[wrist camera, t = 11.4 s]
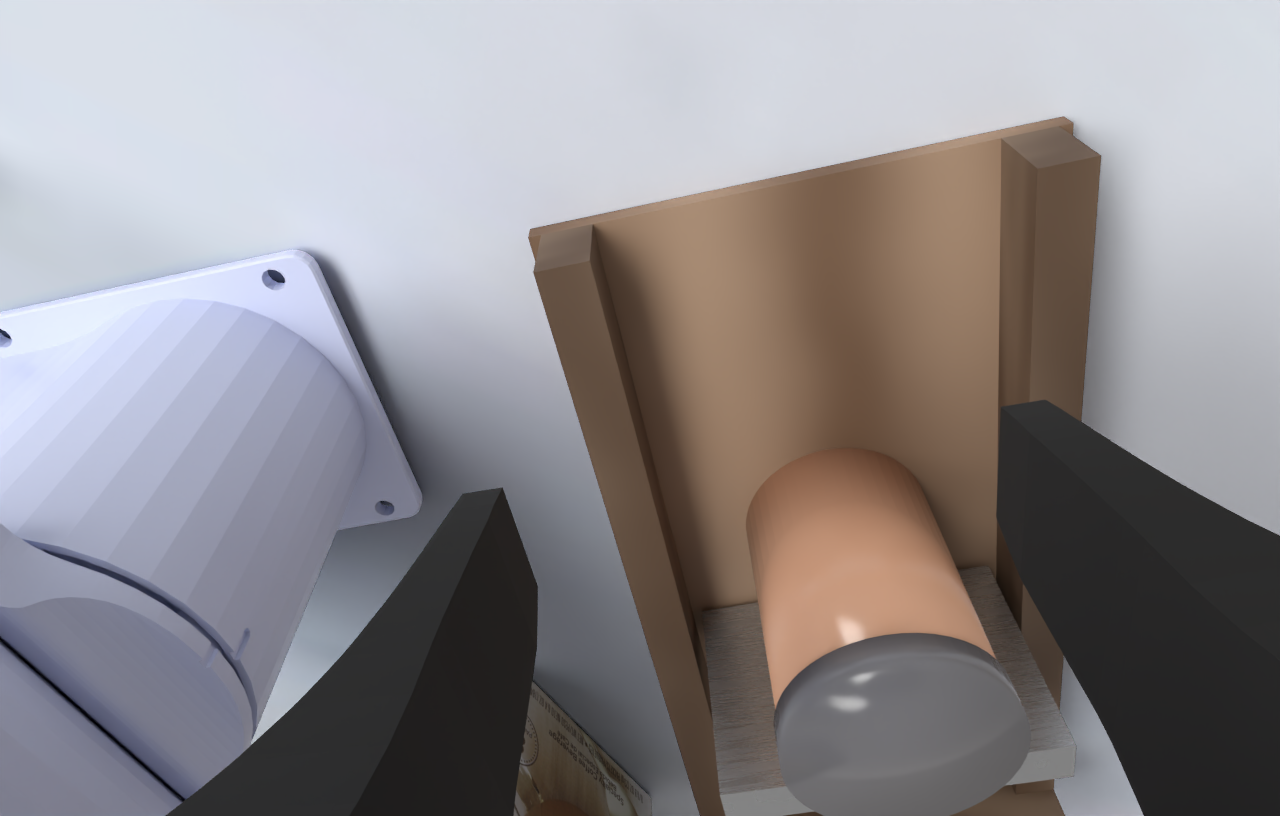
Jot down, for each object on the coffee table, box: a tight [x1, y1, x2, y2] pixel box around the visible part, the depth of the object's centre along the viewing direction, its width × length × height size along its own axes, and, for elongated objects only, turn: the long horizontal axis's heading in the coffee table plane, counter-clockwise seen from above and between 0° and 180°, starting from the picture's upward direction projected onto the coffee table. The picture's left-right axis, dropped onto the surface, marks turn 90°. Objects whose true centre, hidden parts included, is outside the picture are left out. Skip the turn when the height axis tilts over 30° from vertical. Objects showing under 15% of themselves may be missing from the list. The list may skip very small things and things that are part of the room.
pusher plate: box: [702, 565, 1076, 816], centre depth 24 cm, size 8×1×6 cm, turn 102°
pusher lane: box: [528, 117, 1101, 816], centre depth 24 cm, size 12×22×6 cm, turn 12°
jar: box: [746, 448, 1031, 816], centre depth 22 cm, size 5×5×8 cm
